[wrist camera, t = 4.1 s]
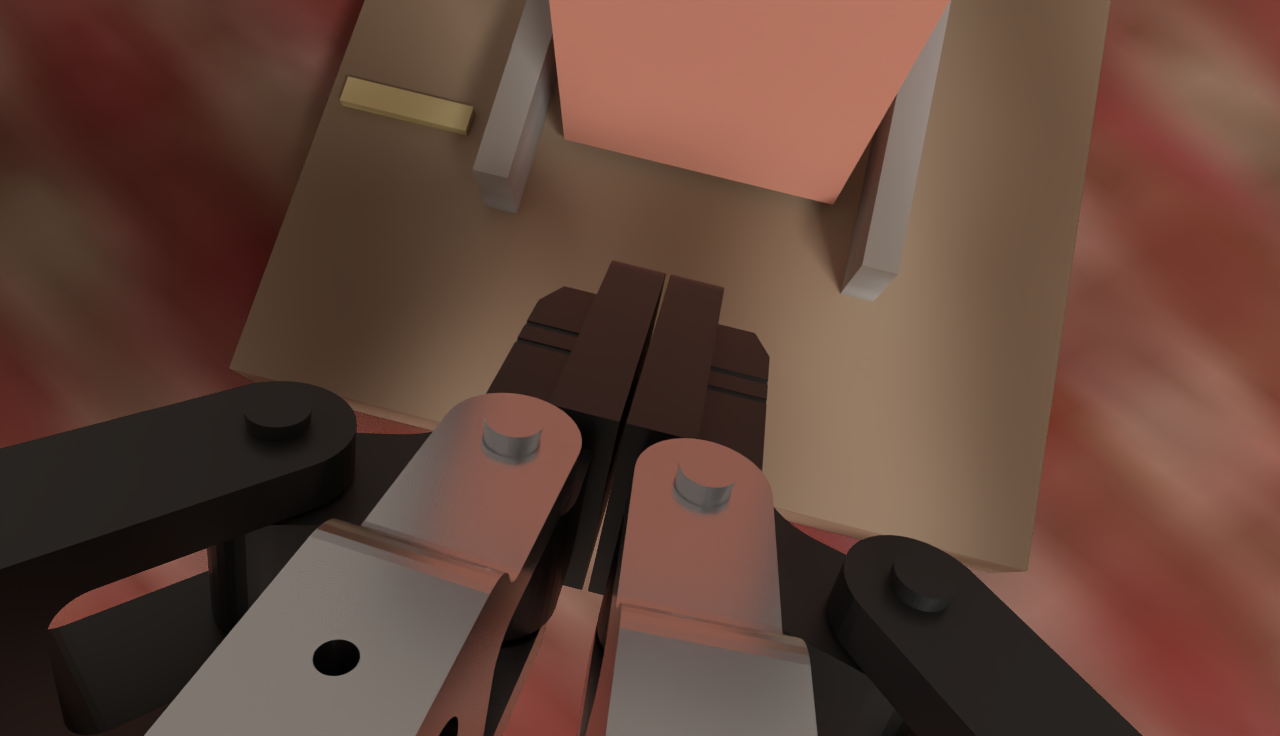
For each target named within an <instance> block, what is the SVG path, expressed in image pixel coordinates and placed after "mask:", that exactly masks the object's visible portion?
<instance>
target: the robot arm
mask: <svg viewBox="0 0 1280 736" xmlns="http://www.w3.org/2000/svg"><path fill="white" fill-rule="evenodd" d="M665 277H666V273H663V272H659V271H655V270H651V269H647V268H643V267H639V266H635V265H630V264H626V263H622V262H618V261H614V260H612V261H611V263H610V266H609V268H608V270H607V272H606V275H605V277H604V279H603V281H602V284H601V286H600V288H599V290H598V293H597V294H594V293H590V292H586V291H582V290H578V289H574V288H570V287H566V286H563V287H561V288H560V289H558V290H556V291H554V292H552V293H550V294H548V295H547V296H545V297H543V298H541V299H539V300H538V302H537V304H536V305H535V307H534V309H533V311H532V312H531V314H530V316H529V318H528V320H527V323H526V325H524V327H523V328H522V330H521V332H520V334H519V336H518V338H517V342H515V343H514V344H513V346H512V348H511V350H510V352H509V353H508V355H507V357H506V359H505V361H504V362H503V364H502V366H501V368H500V369H499V371H498V373H497V375H496V377H495V378H494V380H493V382H492V384H491V385H490V387H489V389H488V391H487V393H486V394H483V395H478V396H475V397H471V398H468V399H466V400H464V401H462V402H460V403H458V404H457V405H455V406H454V407H453V408H452V409H451V410H450V411H449V412H448V413H447V414H446V415H445V416H444V418H443V419H442V420H441V422H440V423H439V424H438V425H437V427H436V428H435V429H434V431H433V432H429V433H421V434H371V433H356V429H357V423H356V416H355V414H354V412H353V409H352V408H351V407H350V406H349V404H348V403H347V402H346V401H345V400H343V399H342V398H341V397H340V396H338V395H336V394H335V393H333V392H331V391H329V390H327V389H324V388H322V387H319V386H315V385H312V384H307V383H301V382H293V381H268V382H259V383H254V384H249V385H245V386H241V387H237V388H233V389H229V390H225V391H222V392H218V393H214V394H210V395H206V396H202V397H198V398H194V399H191V400H187V401H183V402H179V403H175V404H171V405H167V406H164V407H160V408H156V409H152V410H148V411H144V412H140V413H137V414H133V415H129V416H125V417H121V418H117V419H113V420H110V421H106V422H102V423H98V424H94V425H90V426H86V427H83V428H79V429H75V430H71V431H67V432H63V433H59V434H55V435H52V436H48V437H44V438H40V439H36V440H32V441H28V442H25V443H21V444H17V445H13V446H9V447H5V448H1V449H0V736H502V734H503V732H504V730H505V727H506V725H507V723H508V720H509V718H510V716H511V713H512V711H513V709H514V706H515V704H516V702H517V699H518V697H519V695H520V692H521V690H522V688H523V685H524V683H525V681H526V678H527V676H528V674H529V671H530V669H531V667H532V664H533V662H534V660H535V657H536V655H537V653H538V650H539V648H540V646H541V643H542V640H543V636H544V632H545V627H546V622H547V621H548V620H549V618H550V617H551V616H552V614H553V612H554V609H555V607H556V604H557V601H558V598H559V594H560V591H561V588H562V585H565V586H569V587H573V588H576V589H580V590H582V588H583V585H584V581H585V578H586V574H587V571H588V567H589V564H590V561H591V557H592V554H593V550H594V547H595V543H596V540H597V537H598V533H599V530H600V526H601V523H602V519H603V516H604V512H605V509H606V506H607V502H608V506H607V510H606V514H605V519H604V523H603V527H602V532H601V536H600V541H599V545H598V549H597V554H596V558H595V562H594V567H593V571H592V575H591V580H590V584H589V589H588V591H589V592H593V593H597V594H601V595H604V596H603V600H602V605H601V609H600V613H599V617H598V622H597V626H596V630H595V634H594V638H593V642H592V646H591V650H590V654H589V660H588V666H587V672H586V678H585V685H584V691H583V697H582V703H581V709H580V716H579V722H578V728H577V734H576V736H1142V735H1141V734H1140V733H1139V732H1138V731H1137V730H1136V729H1135V728H1134V727H1133V726H1132V725H1131V724H1130V723H1129V722H1128V721H1127V720H1125V719H1124V718H1123V717H1122V716H1121V715H1120V714H1119V713H1118V712H1117V711H1116V710H1115V709H1114V708H1113V707H1112V706H1111V705H1110V704H1109V703H1108V702H1107V701H1106V700H1105V699H1104V698H1103V697H1102V696H1100V695H1099V694H1098V693H1097V692H1096V691H1095V690H1094V689H1093V688H1092V687H1091V686H1090V685H1089V684H1088V683H1087V682H1086V681H1085V680H1084V679H1083V678H1082V677H1081V676H1080V675H1079V674H1078V673H1076V672H1075V671H1074V670H1073V669H1072V668H1071V667H1070V666H1069V665H1068V664H1067V663H1066V662H1065V661H1064V660H1063V659H1062V658H1061V657H1060V656H1059V655H1058V654H1057V653H1056V652H1055V651H1054V650H1053V649H1051V648H1050V647H1049V646H1048V645H1047V644H1046V643H1045V642H1044V641H1043V640H1042V639H1041V638H1040V637H1039V636H1038V635H1037V634H1036V633H1035V632H1034V631H1033V630H1032V629H1031V628H1030V627H1029V626H1028V625H1026V624H1025V623H1024V622H1023V621H1022V620H1021V619H1020V618H1019V617H1018V616H1017V615H1016V614H1015V613H1014V612H1013V611H1012V610H1011V609H1010V608H1009V607H1008V606H1007V605H1006V604H1005V603H1004V602H1002V601H1001V600H1000V599H999V598H998V597H997V596H996V595H995V594H994V593H993V592H992V591H991V590H990V589H989V588H988V587H987V586H986V585H985V584H984V583H983V582H982V581H981V580H980V579H979V578H977V577H976V576H975V575H974V574H973V573H972V572H971V571H970V570H969V569H968V568H967V567H965V566H964V565H963V564H962V563H961V562H959V561H958V560H957V559H955V558H954V557H952V556H951V555H949V554H948V553H946V552H944V551H942V550H940V549H939V548H937V547H934V546H932V545H930V544H928V543H925V542H922V541H919V540H916V539H913V538H908V537H904V536H896V535H877V536H872V537H868V538H865V539H863V540H860V541H859V542H857V543H856V544H855V545H853V546H852V548H851V549H850V550H849V551H848V553H847V555H845V554H843V553H841V552H839V551H837V550H835V549H833V548H831V547H829V546H827V545H825V544H823V543H821V542H819V541H817V540H815V539H813V538H812V537H810V536H808V535H806V534H804V533H803V532H801V531H800V530H799V529H797V528H796V527H794V526H793V525H792V524H790V523H789V522H788V521H787V520H786V519H785V518H783V516H782V515H781V514H780V513H779V512H778V511H777V510H776V509H775V508H774V505H773V494H772V489H771V486H770V484H769V482H768V480H767V478H766V477H765V475H764V474H763V472H762V468H763V453H764V437H765V422H766V407H767V404H766V401H767V391H768V385H767V383H768V376H769V360H770V357H769V355H768V353H767V352H766V350H765V348H764V347H763V345H762V344H761V342H760V340H759V339H758V337H757V335H756V334H755V333H753V332H749V331H745V330H741V329H737V328H733V327H729V326H725V325H721V324H718V323H719V317H720V311H721V305H722V299H723V294H724V287H721V286H717V285H712V284H708V283H704V282H700V281H696V280H692V279H688V278H684V277H680V276H676V275H672V274H671V275H670V278H669V282H668V285H667V288H666V292H665V295H664V298H663V302H662V305H661V309H660V312H659V315H658V319H657V322H656V325H655V321H656V317H657V313H658V308H659V304H660V300H661V295H662V291H663V287H664V282H665ZM654 325H655V329H654ZM653 330H654V332H653ZM652 334H653V335H652ZM651 338H652V339H651ZM609 495H610V497H609ZM608 499H609V501H608ZM206 548H207V555H208V568H209V571H206V572H204V573H201V574H199V575H196V576H193V577H191V578H188V579H185V580H183V581H180V582H178V583H175V584H172V585H170V586H167V587H164V588H162V589H159V590H157V591H154V592H151V593H149V594H146V595H143V596H141V597H138V598H136V599H133V600H130V601H128V602H125V603H122V604H120V605H117V606H115V607H112V608H109V609H107V610H104V611H101V612H99V613H96V614H94V615H91V616H88V617H86V618H83V619H80V620H78V621H75V622H73V623H70V624H67V625H65V626H61V627H58V628H54V629H48V627H49V625H50V623H51V621H52V620H53V618H54V616H55V615H56V614H57V613H58V612H59V611H60V610H61V609H62V608H63V607H64V606H65V605H66V604H68V603H69V602H71V601H72V600H73V599H75V598H77V597H78V596H80V595H82V594H84V593H86V592H88V591H91V590H93V589H96V588H99V587H101V586H104V585H107V584H110V583H112V582H115V581H118V580H121V579H123V578H126V577H129V576H132V575H134V574H137V573H140V572H143V571H145V570H148V569H151V568H154V567H156V566H159V565H162V564H165V563H167V562H170V561H173V560H176V559H178V558H181V557H184V556H186V555H189V554H192V553H195V552H197V551H200V550H203V549H206ZM47 629H48V630H47Z"/></svg>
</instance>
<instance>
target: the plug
mask: <svg viewBox="0 0 1280 736" xmlns="http://www.w3.org/2000/svg"><path fill="white" fill-rule="evenodd" d="M949 2H950V0H549V4H550V13H551V22H552V31H553V40H554V49H555V58H556V68H557V77H558V86H559V95H560V104H561V113H562V122H563V131H564V139H565V140H569V141H573V142H577V143H581V144H585V145H590V146H594V147H598V148H602V149H606V150H610V151H614V152H618V153H622V154H626V155H631V156H635V157H639V158H643V159H647V160H651V161H655V162H659V163H663V164H668V165H672V166H676V167H680V168H684V169H688V170H692V171H696V172H700V173H704V174H709V175H713V176H717V177H721V178H725V179H729V180H733V181H737V182H741V183H746V184H750V185H754V186H758V187H762V188H766V189H770V190H774V191H778V192H782V193H787V194H791V195H795V196H799V197H803V198H807V199H811V200H815V201H819V202H824V203H828V204H832V205H833V204H834V203H835V201H836V199H837V197H838V196H839V194H840V192H841V190H842V189H843V187H844V185H845V183H846V182H847V180H848V178H849V176H850V175H851V173H852V171H853V169H854V168H855V166H856V164H857V162H858V161H859V159H860V157H861V155H862V154H863V152H864V150H865V148H866V147H867V145H868V143H869V141H870V140H871V138H872V136H873V135H874V133H875V131H876V129H877V128H878V126H879V124H880V122H881V121H882V119H883V117H884V115H885V114H886V112H887V110H888V108H889V107H890V105H891V103H892V101H893V100H894V98H895V96H896V94H897V93H898V91H899V89H900V87H901V86H902V84H903V82H904V80H905V79H906V77H907V75H908V73H909V72H910V70H911V68H912V66H913V65H914V63H915V61H916V59H917V58H918V56H919V54H920V52H921V51H922V49H923V47H924V46H925V44H926V42H927V40H928V39H929V37H930V35H931V33H932V32H933V30H934V28H935V26H936V25H937V23H938V21H939V19H940V18H941V16H942V14H943V12H944V11H945V9H946V7H947V5H948V4H949Z"/></svg>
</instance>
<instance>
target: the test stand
mask: <svg viewBox="0 0 1280 736" xmlns="http://www.w3.org/2000/svg"><path fill="white" fill-rule="evenodd" d="M1110 2H1111V0H950V2H949V4H948V5H947V7H946V9H945V11H944V12H943V14H942V16H941V18H940V19H939V21H938V23H937V25H936V26H935V28H934V30H933V32H932V33H931V35H930V37H929V39H928V40H927V42H926V44H925V46H924V47H923V49H922V51H921V52H920V54H919V56H918V58H917V59H916V61H915V63H914V65H913V66H912V68H911V70H910V72H909V73H908V75H907V77H906V79H905V80H904V82H903V84H902V86H901V87H900V89H899V91H898V93H897V94H896V96H895V98H894V100H893V101H892V103H891V105H890V107H889V108H888V110H887V112H886V114H885V115H884V117H883V119H882V121H881V122H880V124H879V126H878V128H877V129H876V131H875V133H874V135H873V136H872V138H871V140H870V141H869V143H868V145H867V147H866V148H865V150H864V152H863V154H862V155H861V157H860V159H859V161H858V162H857V164H856V166H855V168H854V169H853V171H852V173H851V175H850V176H849V178H848V180H847V182H846V183H845V185H844V187H843V189H842V190H841V192H840V194H839V196H838V197H837V199H836V201H835V203H834V204H833V205H832V204H828V203H824V202H819V201H815V200H811V199H807V198H803V197H799V196H795V195H791V194H787V193H782V192H778V191H774V190H770V189H766V188H762V187H758V186H754V185H750V184H746V183H741V182H737V181H733V180H729V179H725V178H721V177H717V176H713V175H709V174H704V173H700V172H696V171H692V170H688V169H684V168H680V167H676V166H672V165H668V164H663V163H659V162H655V161H651V160H647V159H643V158H639V157H635V156H631V155H626V154H622V153H618V152H614V151H610V150H606V149H602V148H598V147H594V146H590V145H585V144H581V143H577V142H573V141H569V140H565V139H564V131H563V122H562V113H561V104H560V95H559V86H558V77H557V68H556V58H555V49H554V40H553V31H552V22H551V13H550V4H549V0H365V1H364V3H363V6H362V9H361V11H360V14H359V17H358V20H357V22H356V25H355V28H354V30H353V33H352V36H351V39H350V41H349V44H348V47H347V49H346V52H345V55H344V58H343V60H342V63H341V66H340V68H339V71H338V74H337V77H336V79H335V82H334V85H333V87H332V90H331V93H330V95H329V98H328V101H327V104H326V106H325V109H324V112H323V114H322V117H321V120H320V123H319V125H318V128H317V131H316V133H315V136H314V139H313V142H312V144H311V147H310V150H309V152H308V155H307V158H306V161H305V163H304V166H303V169H302V171H301V174H300V177H299V180H298V182H297V185H296V188H295V190H294V193H293V196H292V199H291V201H290V204H289V207H288V209H287V212H286V215H285V218H284V220H283V223H282V226H281V228H280V231H279V234H278V236H277V239H276V242H275V245H274V247H273V250H272V253H271V255H270V258H269V261H268V264H267V266H266V269H265V272H264V274H263V277H262V280H261V283H260V285H259V288H258V291H257V293H256V296H255V299H254V302H253V304H252V307H251V310H250V312H249V315H248V318H247V321H246V323H245V326H244V329H243V331H242V334H241V337H240V340H239V342H238V345H237V348H236V350H235V353H234V356H233V359H232V361H231V364H230V367H229V369H231V370H233V371H234V372H236V373H238V374H240V375H241V376H243V377H245V378H247V379H248V380H250V381H252V382H254V383H259V382H268V381H293V382H301V383H307V384H312V385H315V386H319V387H322V388H324V389H327V390H329V391H331V392H333V393H335V394H336V395H338V396H340V397H341V398H342V399H343V400H345V401H346V402H347V403H348V404H349V406H350V407H351V408H352V409H353V410H354V411H358V412H362V413H366V414H370V415H374V416H378V417H382V418H386V419H390V420H394V421H397V422H401V423H405V424H409V425H413V426H417V427H421V428H425V429H429V430H433V431H434V429H435V428H436V427H437V425H438V424H439V423H440V422H441V420H442V419H443V418H444V416H445V415H446V414H447V413H448V412H449V411H450V410H451V409H452V408H453V407H454V406H455V405H457V404H458V403H460V402H462V401H464V400H466V399H468V398H471V397H475V396H478V395H483V394H486V393H487V391H488V389H489V387H490V385H491V384H492V382H493V380H494V378H495V377H496V375H497V373H498V371H499V369H500V368H501V366H502V364H503V362H504V361H505V359H506V357H507V355H508V353H509V352H510V350H511V348H512V346H513V344H514V343H515V342H517V338H518V336H519V334H520V332H521V330H522V328H523V327H524V325H526V323H527V320H528V318H529V316H530V314H531V312H532V311H533V309H534V307H535V305H536V304H537V302H538V300H539V299H541V298H543V297H545V296H547V295H548V294H550V293H552V292H554V291H556V290H558V289H560V288H561V287H563V286H566V287H570V288H574V289H578V290H582V291H586V292H590V293H594V294H597V293H598V290H599V288H600V286H601V284H602V281H603V279H604V277H605V275H606V272H607V270H608V268H609V266H610V263H611V261H612V260H614V261H618V262H622V263H626V264H630V265H635V266H639V267H643V268H647V269H651V270H655V271H659V272H663V273H666V277H665V282H664V287H663V291H662V295H661V300H660V304H659V308H658V313H657V317H656V321H655V325H656V322H657V319H658V315H659V312H660V309H661V305H662V302H663V298H664V295H665V292H666V288H667V285H668V282H669V278H670V275H671V274H672V275H676V276H680V277H684V278H688V279H692V280H696V281H700V282H704V283H708V284H712V285H717V286H721V287H724V294H723V299H722V305H721V311H720V317H719V323H718V324H721V325H725V326H729V327H733V328H737V329H741V330H745V331H749V332H753V333H755V334H756V335H757V337H758V339H759V340H760V342H761V344H762V345H763V347H764V348H765V350H766V352H767V353H768V355H769V357H770V360H769V376H768V383H767V385H768V391H767V401H766V404H767V407H766V422H765V437H764V453H763V468H762V472H763V474H764V475H765V477H766V478H767V480H768V482H769V484H770V486H771V489H772V494H773V505H774V508H775V509H776V510H777V511H778V512H779V513H780V514H781V515H782V516H783V518H785V519H786V520H787V521H790V522H794V523H798V524H802V525H806V526H810V527H814V528H818V529H822V530H826V531H829V532H833V533H837V534H841V535H845V536H849V537H853V538H857V539H861V540H863V539H865V538H868V537H872V536H877V535H896V536H904V537H908V538H913V539H916V540H919V541H922V542H925V543H928V544H930V545H932V546H934V547H937V548H939V549H940V550H942V551H944V552H946V553H948V554H949V555H951V556H952V557H954V558H955V559H957V560H958V561H959V562H961V563H962V564H963V565H964V566H967V567H971V568H975V569H979V570H983V571H987V572H991V573H997V572H1022V571H1027V569H1028V562H1029V555H1030V549H1031V542H1032V535H1033V528H1034V521H1035V514H1036V508H1037V501H1038V494H1039V487H1040V480H1041V473H1042V467H1043V460H1044V453H1045V446H1046V439H1047V433H1048V426H1049V419H1050V412H1051V405H1052V398H1053V392H1054V385H1055V378H1056V371H1057V364H1058V357H1059V351H1060V344H1061V337H1062V330H1063V323H1064V316H1065V310H1066V303H1067V296H1068V289H1069V282H1070V275H1071V269H1072V262H1073V255H1074V248H1075V241H1076V234H1077V228H1078V221H1079V214H1080V207H1081V200H1082V194H1083V187H1084V180H1085V173H1086V166H1087V159H1088V153H1089V146H1090V139H1091V132H1092V125H1093V118H1094V112H1095V105H1096V98H1097V91H1098V84H1099V77H1100V71H1101V64H1102V57H1103V50H1104V43H1105V36H1106V30H1107V23H1108V16H1109V9H1110ZM655 325H654V329H655ZM653 332H654V330H653ZM652 335H653V334H652ZM651 339H652V338H651Z"/></svg>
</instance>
